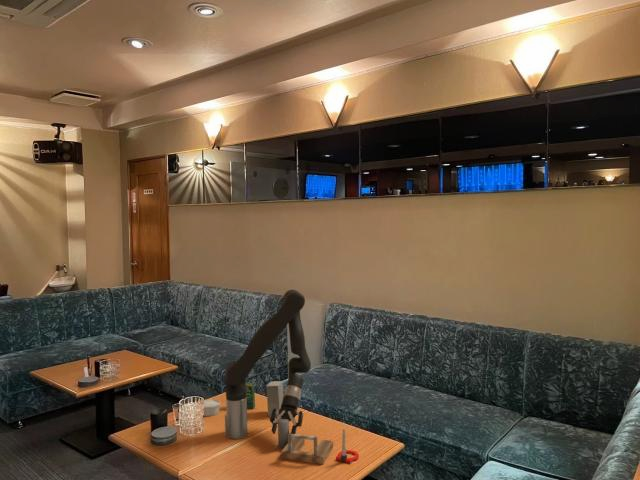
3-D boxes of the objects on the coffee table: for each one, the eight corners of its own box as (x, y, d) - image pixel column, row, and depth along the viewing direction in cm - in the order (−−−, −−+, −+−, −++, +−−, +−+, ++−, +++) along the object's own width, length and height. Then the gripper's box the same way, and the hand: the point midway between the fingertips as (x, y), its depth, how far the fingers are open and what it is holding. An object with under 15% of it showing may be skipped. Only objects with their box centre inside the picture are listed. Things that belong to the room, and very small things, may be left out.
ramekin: (225, 411, 238) (224, 401, 238) (209, 419, 229) (209, 408, 228) (209, 407, 244) (209, 397, 244) (193, 414, 235) (193, 404, 234)
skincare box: (280, 417, 228) (279, 386, 227) (266, 417, 229) (265, 385, 229) (284, 411, 236) (284, 380, 236) (271, 410, 238) (270, 380, 237)
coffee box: (239, 407, 242) (238, 383, 241) (241, 405, 245) (240, 381, 244) (252, 409, 239) (252, 384, 239) (255, 407, 242) (254, 382, 242)
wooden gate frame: (281, 458, 188) (280, 434, 187) (293, 442, 201) (293, 420, 201) (323, 464, 182) (323, 439, 182) (333, 447, 196) (332, 424, 195)
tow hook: (343, 451, 194) (333, 460, 185) (343, 420, 194) (333, 428, 186) (362, 455, 189) (352, 465, 181) (362, 424, 190) (352, 432, 182)
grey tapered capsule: (276, 448, 197) (276, 422, 196) (280, 443, 201) (280, 418, 201) (287, 449, 195) (286, 424, 195) (291, 444, 200) (290, 419, 199)
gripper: (274, 393, 207) (264, 429, 196) (304, 395, 203) (295, 432, 192) (279, 400, 212) (270, 435, 201) (308, 403, 208) (300, 439, 197)
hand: (282, 434), depth 197 cm, fingers open, 8 cm apart
